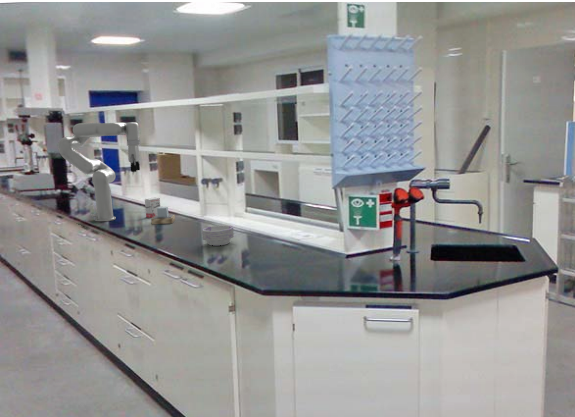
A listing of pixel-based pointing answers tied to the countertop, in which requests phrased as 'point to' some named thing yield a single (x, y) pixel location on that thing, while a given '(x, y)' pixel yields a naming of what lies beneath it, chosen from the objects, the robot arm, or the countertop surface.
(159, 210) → the cube
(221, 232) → the paper bowls
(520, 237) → the countertop surface
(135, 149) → the robot arm
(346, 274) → the countertop surface
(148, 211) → the ink box
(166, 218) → the maple stand
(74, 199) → the countertop surface
